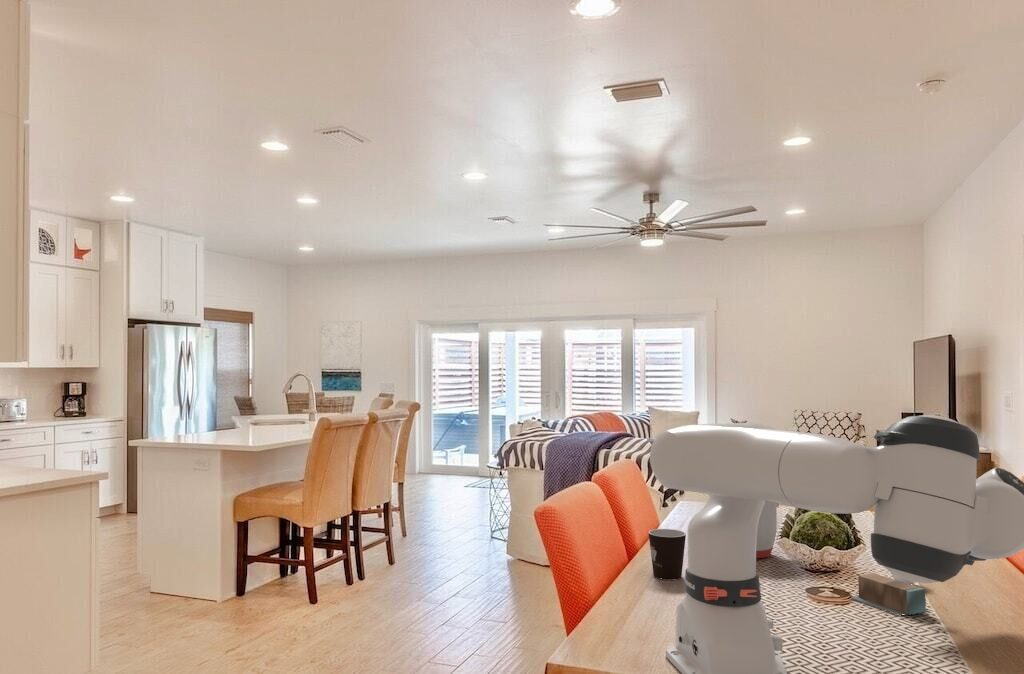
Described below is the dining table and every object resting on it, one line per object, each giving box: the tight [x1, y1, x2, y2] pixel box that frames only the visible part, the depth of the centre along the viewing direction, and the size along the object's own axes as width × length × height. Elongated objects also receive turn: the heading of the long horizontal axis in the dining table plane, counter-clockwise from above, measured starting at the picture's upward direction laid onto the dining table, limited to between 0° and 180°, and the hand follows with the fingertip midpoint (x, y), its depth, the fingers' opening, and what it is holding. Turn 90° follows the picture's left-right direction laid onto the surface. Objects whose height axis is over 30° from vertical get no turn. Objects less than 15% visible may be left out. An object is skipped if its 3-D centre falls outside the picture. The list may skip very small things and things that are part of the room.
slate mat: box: [850, 595, 906, 615], centre depth 150 cm, size 12×8×1 cm, turn 23°
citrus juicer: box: [756, 501, 780, 559], centre depth 191 cm, size 16×17×20 cm
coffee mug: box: [648, 528, 687, 580], centre depth 172 cm, size 12×9×10 cm
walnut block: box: [857, 573, 927, 616], centre depth 149 cm, size 4×4×12 cm
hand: (910, 572), depth 145 cm, fingers closed
